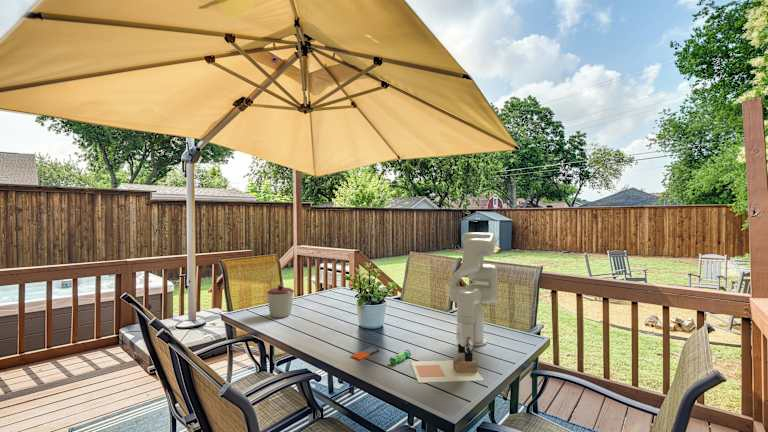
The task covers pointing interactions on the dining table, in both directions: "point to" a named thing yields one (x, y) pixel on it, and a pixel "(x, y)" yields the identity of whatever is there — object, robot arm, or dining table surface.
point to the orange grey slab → (364, 353)
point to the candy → (400, 357)
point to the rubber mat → (440, 372)
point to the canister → (280, 301)
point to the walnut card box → (464, 365)
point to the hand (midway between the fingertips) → (464, 356)
